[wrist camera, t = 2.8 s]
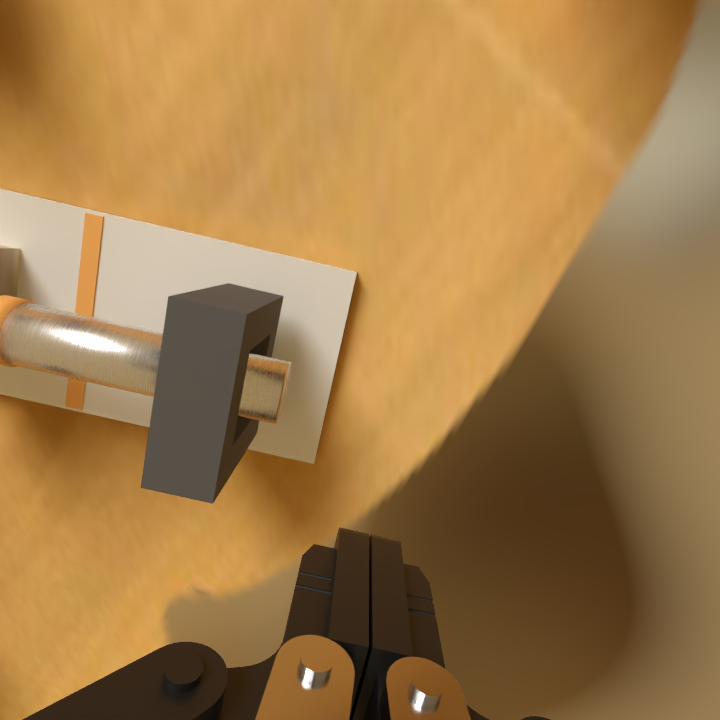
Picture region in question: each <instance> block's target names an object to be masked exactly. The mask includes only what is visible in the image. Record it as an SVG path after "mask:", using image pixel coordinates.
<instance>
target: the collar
mask: <svg viewBox="0 0 720 720" xmlns="http://www.w3.org/2000/svg"><path fill="white" fill-rule="evenodd" d="M283 297H284V296H282V295H277V294H273V293H269V292H264V291H260V290H256V289H251V288H247V287H243V286H238V285H234V284H230V283H227V284H223V285H218V286H213V287H209V288H204V289H200V290H195V291H190V292H186V293H181V294H176V295H172V296H168V302H167V309H166V316H165V323H164V330H163V337H162V344H161V351H160V357H159V364H158V371H157V378H156V385H155V392H154V399H153V406H152V413H151V420H150V427H149V434H148V441H147V448H146V455H145V461H144V468H143V475H142V482H141V488H145V489H149V490H154V491H158V492H163V493H168V494H172V495H177V496H181V497H186V498H190V499H195V500H199V501H204V502H209V503H213V502H214V501H215V499H216V497H217V496H218V494H219V493H220V491H221V490H222V488H223V486H224V485H225V483H226V482H227V480H228V478H229V477H230V475H231V474H232V472H233V471H234V469H235V467H236V466H237V464H238V463H239V461H240V459H241V458H242V456H243V455H244V453H245V452H246V450H247V448H248V447H249V445H250V444H251V442H252V440H253V439H254V437H255V436H256V434H257V430H258V425H259V420H255V419H250V418H246V417H241V416H238V412H239V407H240V402H241V396H242V391H243V385H244V380H245V374H246V369H247V364H248V358H249V353H253V354H257V355H261V356H266V357H270V358H272V353H273V348H274V343H275V338H276V333H277V328H278V323H279V317H280V312H281V307H282V302H283Z"/></svg>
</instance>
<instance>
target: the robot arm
mask: <svg viewBox="0 0 720 720" xmlns="http://www.w3.org/2000/svg"><path fill="white" fill-rule="evenodd" d="M23 720H489V719H487V718H485V717H483V716H482V715H480V714H478V713H477V712H475V711H474V710H472V709H471V708H470V707H469V706H467V705H466V702H465V698H464V695H463V693H462V690H461V688H460V686H459V684H458V683H457V682H456V680H455V679H454V677H453V676H452V675H451V674H450V673H449V672H448V671H447V670H445V665H444V660H443V654H442V649H441V643H440V638H439V633H438V627H437V621H436V617H435V610H434V605H433V603H432V594H431V588H430V583H429V582H428V580H427V579H426V577H425V576H424V574H423V573H422V572H421V570H420V569H419V567H417V566H412V565H407V564H403V559H402V549H401V542H400V541H399V540H394V539H390V538H385V537H381V536H376V535H372V534H371V535H370V536H369V534H366V533H362V532H358V531H353V530H349V529H344V528H339V531H338V534H337V538H336V542H335V546H334V548H329V547H325V546H320V545H315V544H314V545H313V546H312V547H311V548H310V549H309V550H308V551H307V552H306V553H305V554H304V555H303V556H302V560H301V564H300V568H299V573H298V577H297V582H296V586H295V590H294V594H293V599H292V603H291V607H290V612H289V616H288V621H287V625H286V630H285V634H284V638H283V643H282V644H281V646H280V648H279V649H278V650H277V652H276V653H275V654H274V655H272V656H271V657H270V658H268V659H267V660H265V661H263V662H261V663H258V664H255V665H252V666H246V667H237V668H226V665H225V662H224V660H223V659H222V658H221V656H220V655H219V654H218V653H217V652H216V651H214V650H213V649H211V648H210V647H208V646H205V645H203V644H199V643H194V642H178V643H173V644H169V645H166V646H164V647H162V648H159V649H157V650H155V651H153V652H152V653H150V654H148V655H146V656H144V657H142V658H140V659H138V660H136V661H134V662H132V663H130V664H128V665H127V666H125V667H123V668H121V669H119V670H117V671H115V672H113V673H111V674H109V675H107V676H105V677H104V678H102V679H100V680H98V681H96V682H94V683H92V684H90V685H88V686H86V687H84V688H82V689H80V690H79V691H77V692H75V693H73V694H71V695H69V696H67V697H65V698H63V699H61V700H59V701H57V702H55V703H54V704H52V705H50V706H48V707H46V708H44V709H42V710H40V711H38V712H36V713H34V714H32V715H30V716H29V717H27V718H25V719H23ZM522 720H550V719H547V718H543V717H537V716H533V717H532V716H530V717H526V718H524V719H522Z"/></svg>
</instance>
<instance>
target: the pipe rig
mask: <svg viewBox="0 0 720 720" xmlns="http://www.w3.org/2000/svg"><path fill="white" fill-rule="evenodd" d="M356 275H357V272H356V271H352V270H348V269H344V268H339V267H335V266H331V265H326V264H322V263H318V262H314V261H309V260H305V259H301V258H297V257H292V256H288V255H284V254H279V253H275V252H271V251H267V250H262V249H258V248H254V247H249V246H245V245H241V244H237V243H232V242H228V241H224V240H220V239H215V238H211V237H207V236H202V235H198V234H194V233H190V232H185V231H181V230H177V229H173V228H168V227H164V226H160V225H155V224H151V223H147V222H143V221H138V220H134V219H130V218H126V217H121V216H117V215H113V214H108V213H104V212H100V211H96V210H91V209H87V208H83V207H78V206H74V205H70V204H66V203H61V202H57V201H53V200H49V199H44V198H40V197H36V196H31V195H27V194H23V193H19V192H14V191H10V190H6V189H2V188H0V394H1V395H6V396H10V397H15V398H19V399H24V400H28V401H33V402H37V403H42V404H46V405H51V406H55V407H60V408H64V409H69V410H73V411H78V412H82V413H87V414H91V415H96V416H100V417H105V418H109V419H114V420H118V421H123V422H127V423H132V424H136V425H141V426H145V427H150V420H151V413H152V406H153V399H154V392H155V385H156V378H157V371H158V364H159V357H160V351H161V344H162V337H163V330H164V323H165V316H166V309H167V302H168V296H172V295H176V294H181V293H186V292H190V291H195V290H200V289H204V288H209V287H213V286H218V285H223V284H227V283H230V284H234V285H238V286H243V287H247V288H251V289H256V290H260V291H264V292H269V293H273V294H277V295H282V296H284V297H283V302H282V307H281V312H280V317H279V323H278V328H277V333H276V338H275V343H274V348H273V353H272V358H270V357H266V356H261V355H257V354H253V353H249V358H248V364H247V369H246V374H245V380H244V385H243V391H242V396H241V402H240V407H239V412H238V416H241V417H246V418H250V419H255V420H259V425H258V430H257V434H256V436H255V437H254V439H253V440H252V442H251V444H250V445H249V447H248V448H247V449H248V450H253V451H257V452H262V453H266V454H271V455H275V456H280V457H284V458H289V459H293V460H298V461H302V462H307V463H311V464H314V461H315V458H316V453H317V449H318V444H319V440H320V436H321V431H322V427H323V422H324V418H325V413H326V409H327V404H328V400H329V396H330V391H331V387H332V382H333V378H334V373H335V369H336V364H337V360H338V356H339V351H340V347H341V342H342V338H343V333H344V329H345V324H346V320H347V316H348V311H349V307H350V302H351V298H352V293H353V289H354V284H355V280H356Z"/></svg>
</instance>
